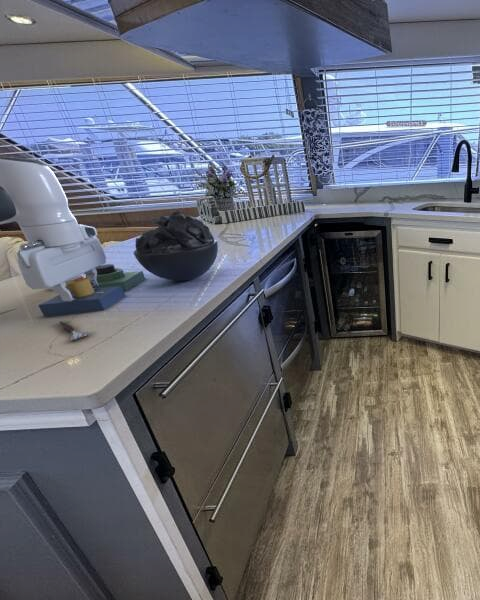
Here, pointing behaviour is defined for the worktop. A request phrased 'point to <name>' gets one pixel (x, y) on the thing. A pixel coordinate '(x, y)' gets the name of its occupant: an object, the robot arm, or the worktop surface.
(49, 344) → the worktop surface
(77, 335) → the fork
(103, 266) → the black round button
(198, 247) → the coal bowl
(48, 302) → the dial panel
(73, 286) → the dial
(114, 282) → the green stepped base
